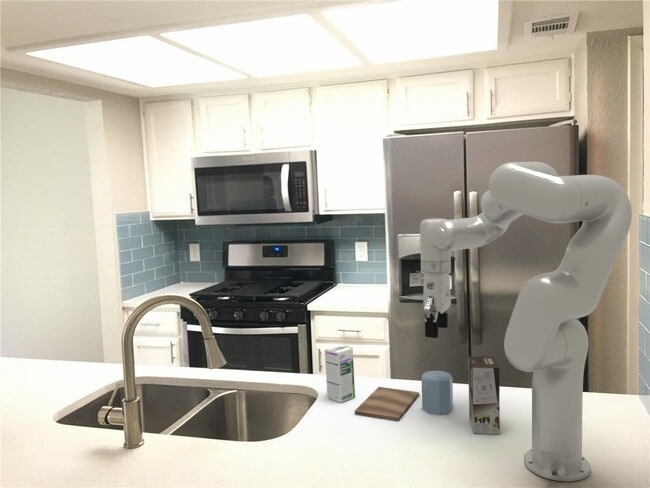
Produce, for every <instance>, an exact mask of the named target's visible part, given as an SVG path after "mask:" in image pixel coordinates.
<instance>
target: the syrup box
mask: <svg viewBox="0 0 650 488" xmlns="http://www.w3.org/2000/svg"><path fill="white" fill-rule="evenodd" d="M324 362H325V376H326V378H325V379H326V380H325V381H326V382H325V383H326V395H327V396H326V397H327V399H329V400H332V401H334V402H337V403H339V404H342V403H344V402H346V401H348V400H351V399H353V398H355V397H356V387H355V368H354V367H355V365H354V351H353V347H351V346H349V345H345V344H337V345H334V346H332V347H328V348H325V349H324Z"/></svg>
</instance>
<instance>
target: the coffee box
mask: <svg viewBox="0 0 650 488" xmlns="http://www.w3.org/2000/svg"><path fill="white" fill-rule="evenodd" d="M467 358H468V359H467V360H468V361H467V367H468V368H467V369H468V372H467V373H468V412H469V413H468V414H469V415H468V416H469V422H470V426H471V430H472V433H473V434H483V435H484V434H488V435H491V434H492V435H499V434H501V432H500V431H501V430H500V427H501V426H500V425H501V424H500V422H501V421H500V417H501V416H500V415H501V414H500V413H501V412H500V411H501V409H500V399H501V398H500V382H501V381H500V372H501V371H500V370H501V369H500V366H499V364H498V362H497V360H496V359H495V356H493V355H492V356H491V355H490V356H489V355H483V356H468V357H467Z"/></svg>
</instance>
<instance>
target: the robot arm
mask: <svg viewBox="0 0 650 488" xmlns="http://www.w3.org/2000/svg"><path fill="white" fill-rule="evenodd" d="M480 207H481V211H482V212H481V213H479V214H478V215H476V216H473V217H465V218H463V217H462V218H455V219H446V218H438V217H437V218H436V217H435V218H426V219H425V218H424V219H423V220H421V222H420V224H419V225H420V226H419V230H420V231H419V233H420V235H419V237H420V273H421V274H423V275H424V276H423V291H422V292H423V297H422V298H423V310H424V336H425V338H433V339H437V338H439V328H442V329H447V328H448V327H449V325H448V324H449V322H448V317H449V316H448V311H449V310H448V309H449V308H450V307H451V305H452V296H451V295H452V294H451V284H450V283H451V280H450V274H451V273H452V258H451V257H452V254H451V253H452V252H453V251H460V250H467V249H475V248H476V249H477V248H482V247H483V246H485V245H487V244H490V243H491V242H493V241H494V240H496V239H498V238H500V237H501V236H502V235H503V234H504V233H506V231H507V230H508V228H509V226H510V224H511V223H512V222H513V221H515V220H517V219H519V218H520V217H522V216H523V215H524V216H525V215H526V216H527V217H531V218H533V219H536V220H538V221H542V222H545V223H551V224H566V223H568V224H569V223H576V222H577V223H578V222H582V224H581V225H580V228H579V229H578V230H577V232H575V234H574V235H573V236H572V238H571V239H570V241H569V243H568V245H567V247H566V249H565V253H564V256H563V258H562V260H561V262H560V264H559V266H558V268H557V269H555V270H554V271H549V272H544V273H541V274H537V275H535V276H533V277H532V278H530V279H529V280H527V281H526V283H524V285H523V286H522V288H521V289H520V292H519V293H518V296H517V298H516V301H515V304H514V308H513V310H512V313H511V316H510V319H509V323H508V325H507V328H506V331H505V334H504V341H503V347H504V353H505V354H504V355H505V357H506V358H507V360H508V362H509V363H510V364H511V366H512V367H514V368H515V369H517V370H519V371H522V372H525V373H526V372H527V373H532V372H533V374H532V379H531V448H530V449H529V450H527V451H526V452H525V453H524V455H523V462H524V466H526V468H527V469H528V470H529V471H530V472H532V473H533V474H535V475H537V476H539V477H542V478H545V479H548V480H552V481H558V482H576V481H581V480H583V479H585V478H587V477H588V476H589V475H590V473H591V463H590V461H589V460H588V459H587V458H586V457H585V456H583V398H584V397H583V395H584V393H583V392H584V391H583V390H584V388H583V387H584V372H585V366H586V360H587V356H588V351H589V336H588V332H587V330H586V327H585V326H584V325H583V323H581V321H579V320H578V319H580V318H584V317H587V316H589V315H590V314H591V313H593V312H594V311H595V310H596V308H597V307H598V304H599V302H600V300H601V297H602V295H603V293H604V291H605V288H606V286H607V283H608V281H609V278H610V277H611V274H612V271H613V269H614V268H613V267H614V266H615V265H614V264H615V263H616V260H617V258H618V256H619V253H620V251H621V249H622V247H623V246H624V243H625V240H627V239H626V238H627V236H628V234H629V232H630V228H631V225H632V219H633V218H632V216H633V209H632V205H631V201H630V199H629V195H628V194H627V192H626V191H625V189H624V188H623V187H622V186H621V185H620V184H619V183H618V182H617V181H615V180H614V179H612V178H609V177H607V176H605V175H598V174H578V175H559V174H558V173H557V171H556V170H555V169H554V168H553V167H552V166H550V165H549V164H548V163H545V162H541V161H513V162H506V163H504V164H501V165H500V166H499V167H497V168H496V169H495V170H494V171H493V172H492V173H491V175H490V178H489V182H488V190H487V191H485V192H484V193H483V194H482V195H481V199H480Z"/></svg>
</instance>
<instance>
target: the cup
mask: <svg viewBox="0 0 650 488" xmlns="http://www.w3.org/2000/svg"><path fill="white" fill-rule="evenodd" d="M453 385H454V384H453V376H452V374H451V373H450V372H447V371H443V370H429V371H425V372H424V373H422V376H421V409H422V410H423V411H424V412H425V413H427V414H429V415H430V414H431V415H437V416H443V415H447V414H450V413H451V412H452V411H453V410H454V399H453V398H454V396H453V395H454V393H453V392H454V390H453Z"/></svg>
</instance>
